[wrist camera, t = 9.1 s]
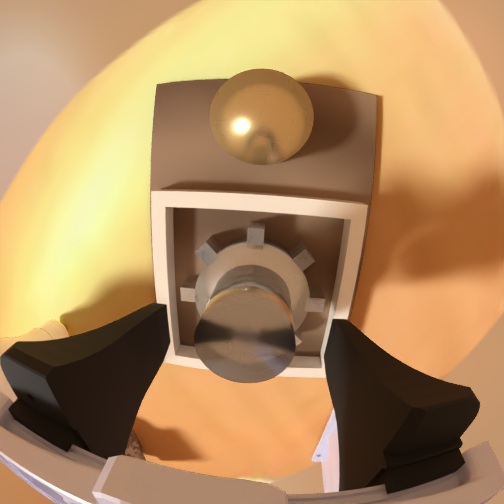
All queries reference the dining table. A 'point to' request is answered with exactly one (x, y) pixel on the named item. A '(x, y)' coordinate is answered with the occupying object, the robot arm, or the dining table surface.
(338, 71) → the dining table surface
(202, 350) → the planet gear
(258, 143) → the golden brown dome
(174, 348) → the carrier pocket
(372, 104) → the carrier board
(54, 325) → the lightbulb
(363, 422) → the robot arm
